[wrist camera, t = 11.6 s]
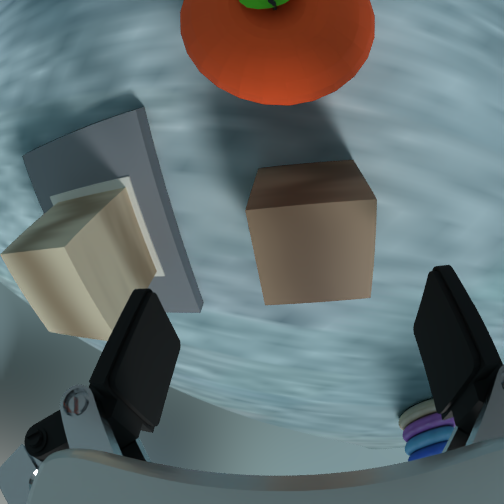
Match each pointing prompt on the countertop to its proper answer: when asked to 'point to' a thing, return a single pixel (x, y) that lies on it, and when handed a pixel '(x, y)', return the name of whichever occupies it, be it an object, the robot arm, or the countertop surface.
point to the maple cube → (82, 263)
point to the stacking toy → (425, 430)
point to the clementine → (278, 45)
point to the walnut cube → (313, 232)
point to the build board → (115, 177)
